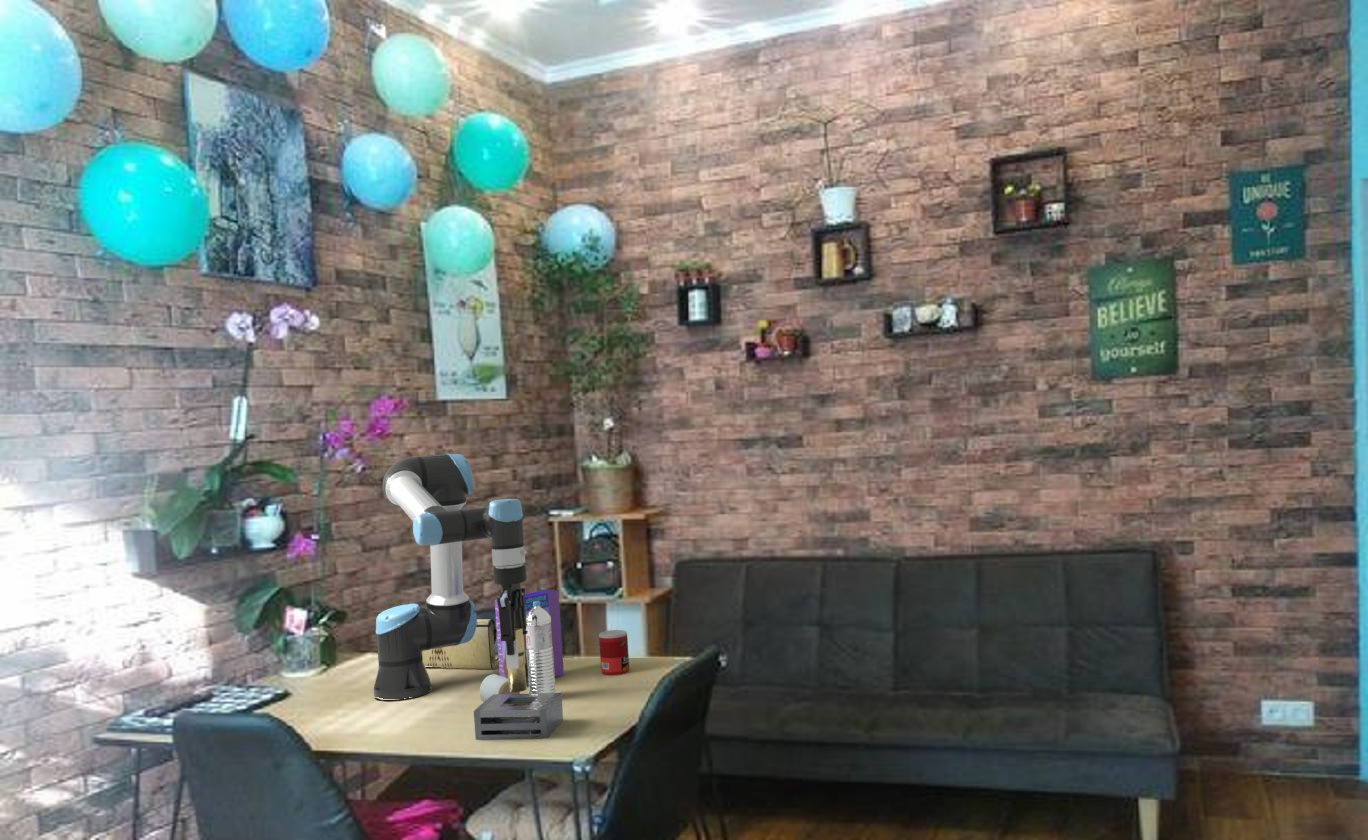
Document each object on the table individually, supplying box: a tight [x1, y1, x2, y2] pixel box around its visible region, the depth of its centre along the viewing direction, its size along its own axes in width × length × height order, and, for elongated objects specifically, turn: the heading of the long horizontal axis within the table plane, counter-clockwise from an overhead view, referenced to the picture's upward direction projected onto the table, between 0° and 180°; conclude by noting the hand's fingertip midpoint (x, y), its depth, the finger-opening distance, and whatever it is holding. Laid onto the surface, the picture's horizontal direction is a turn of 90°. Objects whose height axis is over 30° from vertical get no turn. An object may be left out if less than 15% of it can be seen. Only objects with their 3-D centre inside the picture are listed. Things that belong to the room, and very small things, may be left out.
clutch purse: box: [422, 618, 499, 671], centre depth 290 cm, size 30×7×15 cm, turn 72°
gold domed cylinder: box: [508, 628, 527, 693], centre depth 225 cm, size 4×4×14 cm
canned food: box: [598, 629, 630, 676], centre depth 272 cm, size 8×8×11 cm
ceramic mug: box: [479, 673, 521, 706], centre depth 247 cm, size 11×8×8 cm
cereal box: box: [494, 589, 565, 686], centre depth 268 cm, size 17×5×24 cm, turn 129°
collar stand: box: [473, 692, 564, 740], centre depth 225 cm, size 17×13×6 cm
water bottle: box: [526, 601, 557, 694], centre depth 251 cm, size 7×7×25 cm
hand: (516, 665), depth 225 cm, fingers closed on gold domed cylinder, 4 cm apart
